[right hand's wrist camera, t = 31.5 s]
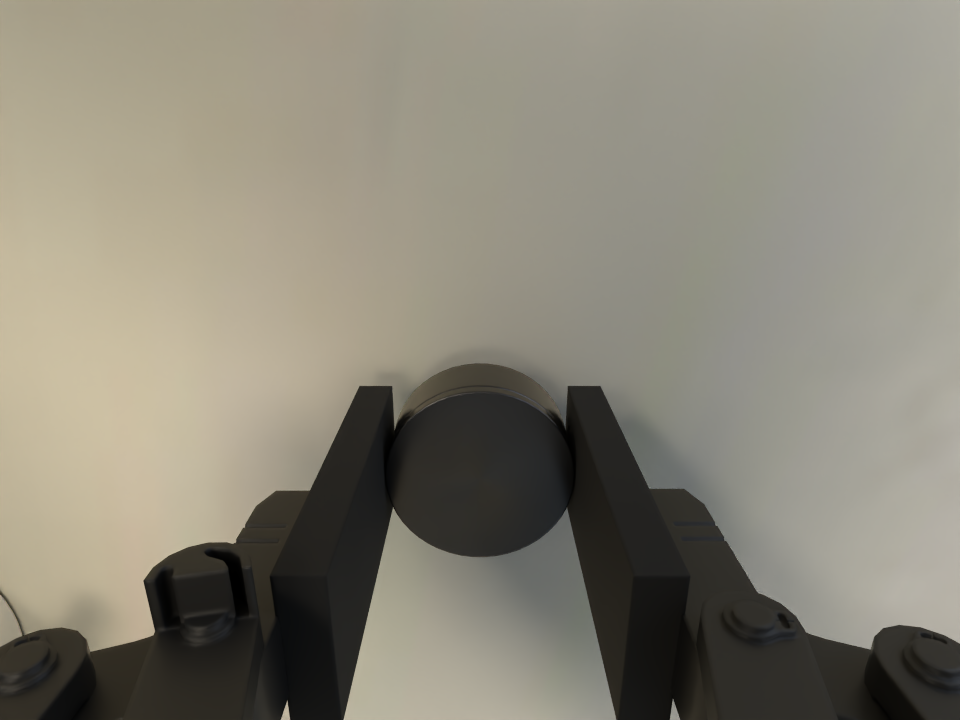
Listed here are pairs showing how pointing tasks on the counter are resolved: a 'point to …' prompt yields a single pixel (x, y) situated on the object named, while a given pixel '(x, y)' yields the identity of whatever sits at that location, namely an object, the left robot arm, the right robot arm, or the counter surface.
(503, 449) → the cap
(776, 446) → the counter surface
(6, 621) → the bottle
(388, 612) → the counter surface
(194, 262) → the counter surface
